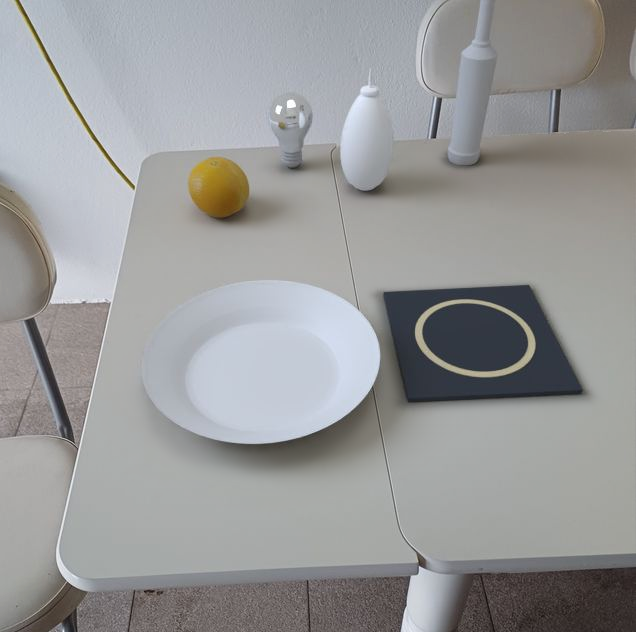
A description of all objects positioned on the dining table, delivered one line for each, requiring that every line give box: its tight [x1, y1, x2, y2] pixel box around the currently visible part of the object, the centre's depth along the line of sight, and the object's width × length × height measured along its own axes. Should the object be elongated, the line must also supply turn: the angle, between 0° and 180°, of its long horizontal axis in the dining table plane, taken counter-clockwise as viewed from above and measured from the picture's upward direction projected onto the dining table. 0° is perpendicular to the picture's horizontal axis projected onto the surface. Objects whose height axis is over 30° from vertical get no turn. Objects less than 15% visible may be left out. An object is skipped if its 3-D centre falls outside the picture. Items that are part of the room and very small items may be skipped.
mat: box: [382, 284, 584, 403], centre depth 73 cm, size 18×18×1 cm
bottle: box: [447, 0, 499, 167], centre depth 97 cm, size 5×5×25 cm
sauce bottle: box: [339, 67, 395, 192], centre depth 94 cm, size 8×8×18 cm
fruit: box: [187, 156, 250, 219], centre depth 94 cm, size 9×8×8 cm
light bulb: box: [267, 91, 314, 169], centre depth 102 cm, size 7×7×12 cm
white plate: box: [140, 279, 381, 445], centre depth 69 cm, size 25×25×4 cm
